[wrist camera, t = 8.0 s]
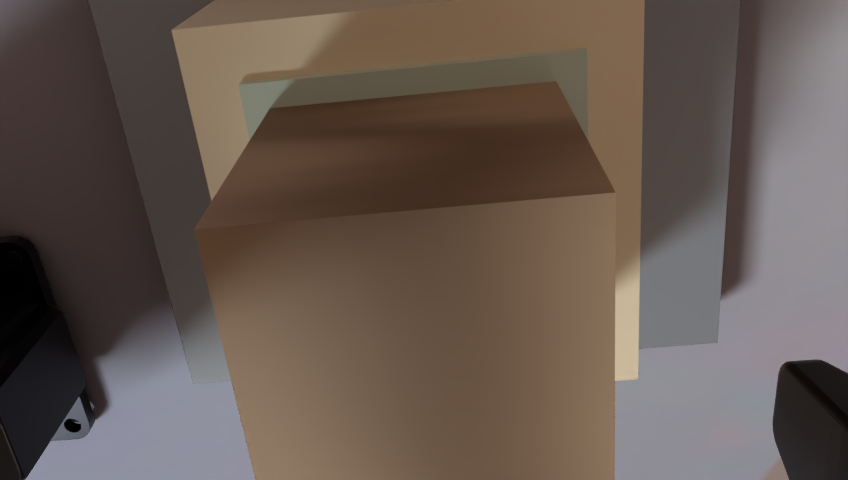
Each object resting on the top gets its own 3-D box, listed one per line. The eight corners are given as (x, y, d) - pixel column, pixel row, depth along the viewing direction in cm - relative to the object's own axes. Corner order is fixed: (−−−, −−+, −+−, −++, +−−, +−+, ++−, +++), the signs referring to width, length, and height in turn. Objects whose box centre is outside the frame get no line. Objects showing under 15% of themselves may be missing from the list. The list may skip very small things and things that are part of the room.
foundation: (207, 352, 23) (143, 495, 18) (90, -98, 18) (-47, -75, 13) (700, 312, 22) (779, 450, 17) (727, -168, 17) (851, -175, 12)
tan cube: (315, 347, 16) (270, 537, 12) (269, 108, 14) (193, 229, 10) (563, 328, 16) (614, 514, 12) (556, 81, 14) (615, 192, 9)
